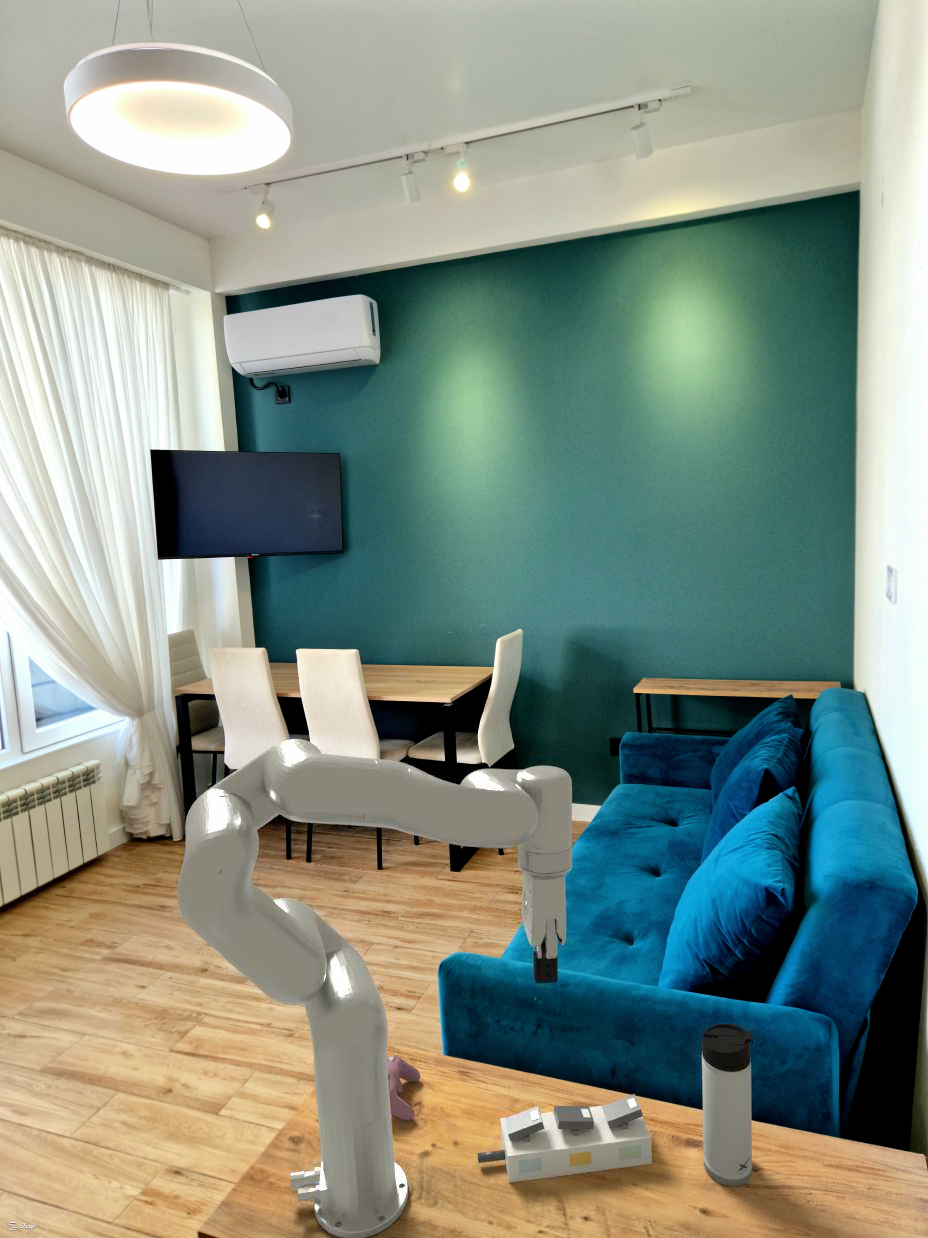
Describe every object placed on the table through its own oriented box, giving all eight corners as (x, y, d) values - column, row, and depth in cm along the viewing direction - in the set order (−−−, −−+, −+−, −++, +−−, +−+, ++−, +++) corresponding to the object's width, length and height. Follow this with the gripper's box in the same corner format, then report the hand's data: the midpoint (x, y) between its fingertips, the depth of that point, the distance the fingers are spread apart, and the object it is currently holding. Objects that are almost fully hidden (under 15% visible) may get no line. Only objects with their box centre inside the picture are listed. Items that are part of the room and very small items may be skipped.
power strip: (481, 1187, 110) (479, 1156, 109) (475, 1147, 117) (473, 1117, 117) (652, 1164, 112) (651, 1133, 112) (636, 1126, 119) (635, 1097, 119)
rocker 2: (609, 1129, 113) (607, 1121, 113) (603, 1113, 116) (601, 1106, 116) (643, 1116, 114) (640, 1108, 113) (636, 1101, 117) (634, 1093, 116)
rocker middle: (558, 1129, 112) (558, 1121, 112) (553, 1113, 115) (554, 1105, 115) (593, 1129, 113) (594, 1121, 113) (587, 1114, 116) (588, 1105, 116)
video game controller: (399, 1087, 133) (377, 1052, 132) (423, 1075, 132) (401, 1040, 131) (390, 1133, 123) (367, 1096, 122) (416, 1121, 122) (393, 1083, 122)
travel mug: (758, 1190, 107) (756, 1051, 104) (706, 1185, 108) (703, 1047, 106) (751, 1153, 113) (749, 1021, 111) (702, 1148, 115) (699, 1017, 112)
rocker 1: (510, 1142, 112) (507, 1134, 112) (507, 1126, 115) (504, 1118, 115) (544, 1129, 112) (541, 1121, 112) (540, 1113, 115) (537, 1105, 115)
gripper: (511, 837, 120) (512, 954, 123) (526, 881, 106) (527, 1013, 108) (561, 834, 121) (561, 951, 123) (583, 878, 106) (583, 1009, 108)
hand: (545, 979), depth 115 cm, fingers closed
